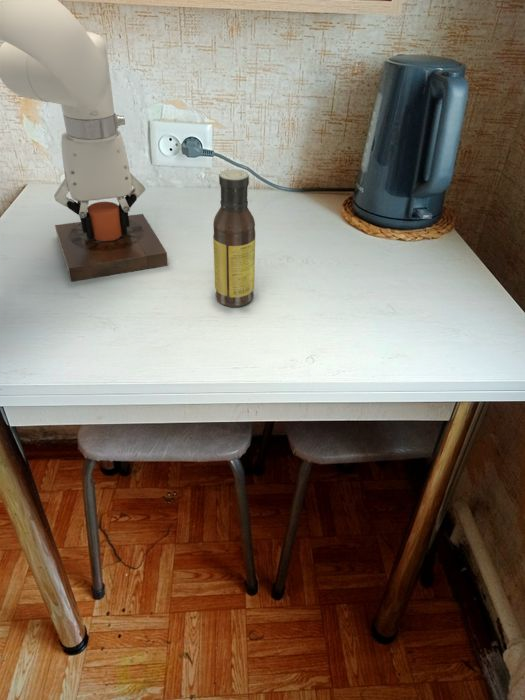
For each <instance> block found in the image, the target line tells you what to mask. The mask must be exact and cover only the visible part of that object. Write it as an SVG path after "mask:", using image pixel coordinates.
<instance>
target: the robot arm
mask: <svg viewBox="0 0 525 700" xmlns="http://www.w3.org/2000/svg"><path fill="white" fill-rule="evenodd" d="M70 11H71V10H69V9H68V8H67V7H66V6H64V4H62V3H61V1H59V0H0V40H1V41H3V43H2V44H1V45H0V80H1V82H2V83H3V85H4V86H5V87H6V88H7V89H8V90H10V91H11V92H12V93H14V94H15V95H17V96H20V97H22V98H25V99H29V100H34V101H38V102H39V101H40V102H45V103H52V104H56V105H61V111H62V115H63V116H62V117H63V122H64V128H65V132H63V133H62V134H61V156H62V157H61V158H62V165H63V172H64V179H63V180H62V182H61V183H60V185H59V187H58V188H57V190H56V191H55V193H54V195H53V198H54V201H55V202H57V203H58V204H60V205H62V206H64V207H67V208H68V209H69V210H70V211H71V212H73V213H75V214H76V215H77V216H79V218H80V222H81V224H82V230H83V233H87V234H88V237H89V239H93V238H94V237H93V231H92V225H91V219H90V216H89V215H88V210H87V209H88V206H89V202H92V201H99V200H106V199H114V198H115V199H116V200H117V202H118V204H117V205H118V206H119V212H120V220H121V228H122V233H123V234H127V227H129V226H130V225H129V217H128V216H129V212H130V210H131V207H132V206H133V205H134V204H135V203H136V201H137V200H138V198H140V196H141V195H143V194H144V193H145V191H146V187H145V186H144V184H143V183H141V181H140V180H138V178H137V177H136V176H134V174H133V173H131V169H130V163H129V160H128V155H127V154H128V153H127V151H126V146H125V142H124V140H123V135H122V134H121V131H120V130H118V129H119V127H121V126H125V125H126V119H125V116H124V115H119V114H117V113H115V107H114V100H113V99H114V98H113V90H112V82H111V74H110V65H109V57H108V50H107V45H106V41H105V40H104V38H103V37H102V36H101V35H100V34H98V33H95V32H93V31H92V32H91V31H86V29H85V28H84V26H83V25H82V24H81V23H80V21H78V19H77V18H76V17H75V15H73V13H72V12H70ZM68 193H69V194H70V197H71V198H70V197H68V196H67V195H68Z"/></svg>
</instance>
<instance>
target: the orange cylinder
mask: <svg viewBox="0 0 525 700" xmlns="http://www.w3.org/2000/svg"><path fill="white" fill-rule="evenodd" d="M118 205H119V204H117V203H115V202H111V201H98V202H97V201H96V202H94V203H91V204H89V205H88V209H87V212H88V215H89V216H90V219H91V225H92V231H93V237H94V239H96V240H95V241H98V242H114V241H117V240H119V239H121V238H120V237H121V236H122V228H121V220H120V212H119V206H118Z"/></svg>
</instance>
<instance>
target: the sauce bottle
mask: <svg viewBox="0 0 525 700" xmlns="http://www.w3.org/2000/svg"><path fill="white" fill-rule="evenodd" d="M249 176H250V175H249V173H248V172H247V171H244V170H240V169H225V170H223V171H220V173H219V174H218V183H219V187H220V200H219V201H220V202H219V203H220V207H219V209H218V211H217V212H216V214H215V216H214V218H213V224H212V225H213V226H212V227H213V235H212V238H213V239H212V242H213V243H212V244H213V245H212V246H213V267H214V271H213V272H214V273H213V274H214V289H215V297H216V299H217V302H219V303H220V304H222V305H224V306H227V307H230V308H235V307H242V306H245V305H247V304H249V303H250V302H251V301H252V300H253V298H254V290H255V281H256V280H255V279H256V277H255V275H256V274H255V272H256V221H255V218H254V216H253V214H252V212H251V210H250V209H249V208H248V207H249V206H248V205H249V201H248V187H249V185H250V177H249Z"/></svg>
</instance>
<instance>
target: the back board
mask: <svg viewBox="0 0 525 700" xmlns="http://www.w3.org/2000/svg"><path fill="white" fill-rule="evenodd" d="M128 217H129V225H130V226H129V227H127V234H123V233H122V236H121V237H120V238H119V239H117V240H114V241H107V242H100V241H97V240H96V239H94V238H93V239H89V237H88V234H87V233H83V230H82V224H81V221H76V222H68V223H61V224H54V227H55V232H56V237H57V240H58V243H59V247H60V250H61V254H62V256H63V259H64V263H65V267H66V268H67V273H68V275H69V279H70V281H71V282H76V281H83V280H88V279H94V278H101V277H107V276H113V275H118V274H125V273H130V272H131V273H132V272H135V271H136V272H137V271H143V270H147V269H153V268H160V267H166V266H168V263H169V262H168V251H166V248H165V247H164V246H163V244H162V242H161V241H160V239H159V238H158V235H157V234H156V233H155V231H154V230H153V228H152V226H151V225H150V223H149V222H148V219H147V218H146V217H145V215H144V213H138V214H131V215H129V214H128Z"/></svg>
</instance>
